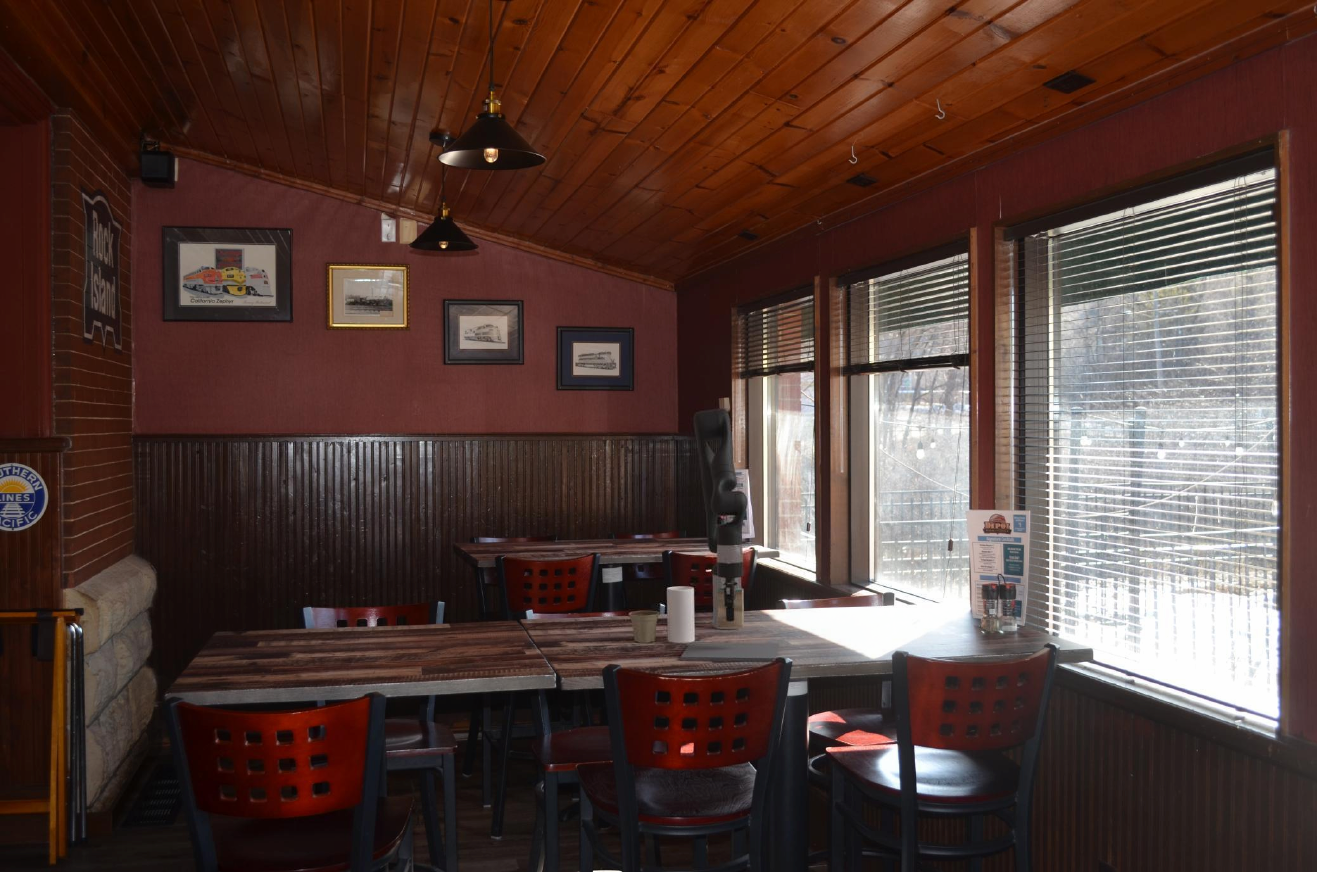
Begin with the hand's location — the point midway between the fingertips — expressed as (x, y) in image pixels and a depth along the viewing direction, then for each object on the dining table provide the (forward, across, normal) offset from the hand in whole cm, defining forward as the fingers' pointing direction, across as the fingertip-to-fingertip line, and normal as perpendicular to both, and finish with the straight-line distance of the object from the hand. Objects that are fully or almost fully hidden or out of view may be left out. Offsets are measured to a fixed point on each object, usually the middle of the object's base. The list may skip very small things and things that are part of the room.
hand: (730, 619), depth 309 cm
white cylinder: (+9, -16, -17) cm, 25 cm away
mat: (+9, +3, 0) cm, 10 cm away
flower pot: (+9, -14, -28) cm, 33 cm away
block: (+2, 0, 0) cm, 2 cm away
